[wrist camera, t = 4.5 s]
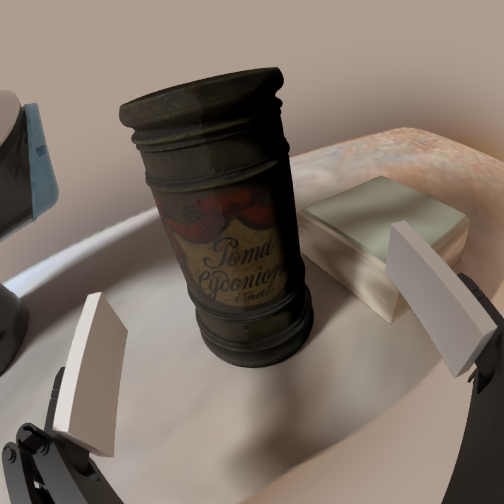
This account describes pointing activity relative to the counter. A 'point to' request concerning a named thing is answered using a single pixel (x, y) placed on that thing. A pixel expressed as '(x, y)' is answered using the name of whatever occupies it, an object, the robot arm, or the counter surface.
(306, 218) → the stand
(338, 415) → the counter surface
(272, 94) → the container
